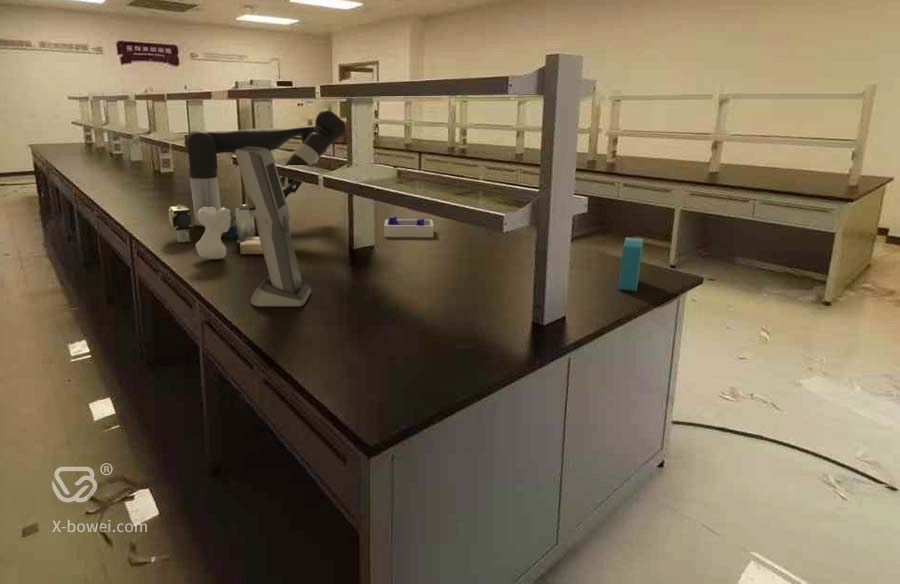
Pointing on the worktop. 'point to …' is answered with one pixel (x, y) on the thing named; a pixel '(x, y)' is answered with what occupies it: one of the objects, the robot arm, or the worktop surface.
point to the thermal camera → (271, 230)
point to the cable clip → (394, 222)
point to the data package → (630, 264)
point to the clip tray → (408, 229)
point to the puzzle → (231, 228)
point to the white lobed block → (213, 232)
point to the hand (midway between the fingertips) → (273, 198)
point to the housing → (244, 223)
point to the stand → (251, 246)
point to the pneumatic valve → (180, 221)
